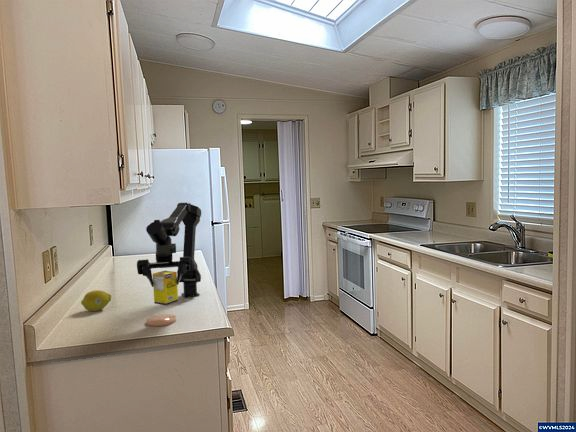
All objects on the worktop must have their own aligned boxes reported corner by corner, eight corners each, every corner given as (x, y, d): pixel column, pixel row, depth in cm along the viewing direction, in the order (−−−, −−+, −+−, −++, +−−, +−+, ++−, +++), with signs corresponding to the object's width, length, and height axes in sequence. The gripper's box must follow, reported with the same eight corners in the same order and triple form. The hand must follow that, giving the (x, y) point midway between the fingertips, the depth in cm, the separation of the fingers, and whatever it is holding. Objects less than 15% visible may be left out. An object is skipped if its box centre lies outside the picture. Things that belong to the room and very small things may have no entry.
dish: (144, 320, 152) (143, 317, 152) (171, 315, 157) (171, 312, 157) (150, 328, 143) (150, 325, 143) (179, 323, 148) (179, 319, 148)
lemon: (80, 315, 161) (79, 294, 160) (82, 309, 168) (81, 289, 167) (111, 311, 164) (110, 291, 164) (112, 306, 172) (111, 287, 171)
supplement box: (178, 301, 151) (177, 271, 150) (166, 305, 146) (164, 274, 145) (166, 299, 154) (165, 270, 153) (153, 303, 149) (152, 273, 148)
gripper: (135, 237, 150) (135, 274, 140) (189, 234, 155) (192, 270, 145) (138, 256, 158) (137, 292, 148) (189, 252, 163) (192, 287, 153)
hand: (165, 285), depth 148 cm, fingers closed on supplement box, 8 cm apart
